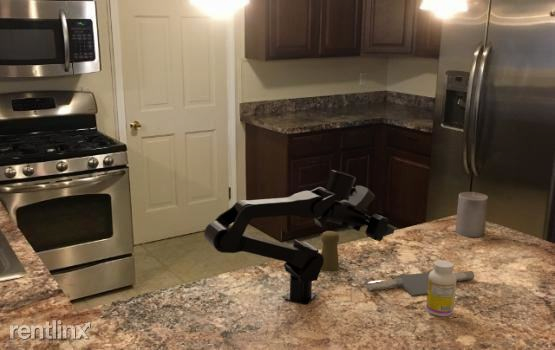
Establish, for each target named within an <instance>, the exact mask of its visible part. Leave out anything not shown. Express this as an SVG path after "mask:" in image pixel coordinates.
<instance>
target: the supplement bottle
mask: <svg viewBox="0 0 555 350" xmlns="http://www.w3.org/2000/svg"><path fill="white" fill-rule="evenodd" d="M454 265H455V264H454V263H453V262H452V261H449V260H444V259H437V260H435V261H434V262H433V269H432V270H431V271H430V272H428V273H429V279H428V291H427V295H426V302H425V303H426V304H425V305H426V306H425V307H426V311H427V312H428V313H430V314H431V315H434V316H436V317H449V316H451V315H452V314H453V313H454V309H455V299H456V298H455V297H456V290H457V289H456V287H457V281H456V280H457V278H456V275H455V274H454V273H455V272H454Z"/></svg>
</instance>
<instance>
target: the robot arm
mask: <svg viewBox="0 0 555 350" xmlns="http://www.w3.org/2000/svg"><path fill="white" fill-rule="evenodd" d="M355 182H356V177H355V176H353V175H350V174H347V173H346V172H342V171H339V170H334V169H332V170H331V172H330V173H329V179H328V181H327V184H326V186H325V188H324V187H321V186H319V187H316V188H314V189H312V190H303V191H299V192H297V193H294V194H292V195H289V196H287V197H277V198H264V199H251V200H250V199H249V200H246V199H240V200H237V201H236V202H235V203H234V204H233V205H232V206H231V207H230V208H228V209H227V210H225V211H224V212H222V213H221V214H219V215H218V216H217V217H216V219H215V220H213V221H212V222H210V223H209V224H207V226H206V227H205V229H204V232H203V234H204V238H205V241H206V242H207V243H208V244H210V245H211V246H212V247H213V248H214V249H215V250H216V251H217V252H220V253H222V254H237V253H241V252H244V253H248V254H253V255H256V256H260V257H263V258H264V257H265V258H268V259H269V258H270V259H273V260H278V261H281V262H285V263H284V264H283V267H284V271H285V272H286V273H288V274H289V292H288V293H287V295H286V296H285V297H284V300H285V301H289V302H294V303H296V304H297V303H299V304H302V305H309V304H311V301H312V300H313V299H314V298H315V297H316V296H317V292H312V291H313V290H312V289H313V282H315V281H318V279H319V275H320V273H321V271H322V270H321V268H322V266H323V262H324V258H323V255H322V254H321V252H319V251H320V250H319V249H318V248H316V247H315V246H313V245H311V244H310V243H309V242H307V241H299V240H297V239H294V240H293V244H292V243H291V244H286V243H285V244H284V243H281V242H277V241H273V240H270V239H266V238H264V237H262V238H261V237H258V236H256V235H251V234H247V233H245V231H246V229H247V228H248V226H249V223H250V222H251V221H252V220H255V219H263V218H264V219H265V218H274V217H275V218H276V217H285V216H297V217H301V218H305V219H314V224H315V225H316V226H319V227H321V228H325V225H326V224H327V222H330V223H333V224H337V225H339V226H341V227H344V228H351V229H353V230H355V231H357V232H359V231H360V230H361V228H362V227H363V226H364V225H366V230H365V234H366V236H367V237H369V238H370V239H372V240H374V241H377V242H382V241H383V239H384V237H387V236H390V235H393V234H394V233H395V229H394V228H393V227H391V226H390V225H389V222H390V219H389V218H387V217H384V216H382V215H381V214H380V215H379V214H377V213H374V214H373V215H371V216H369V215H368V212H369V210H368V209H367V208H368V206H369V205H370V203H371V202H372V201H373V200H374V199H375V197H376V195H375V194H374V193H373V192H372V191H371V190H370V188H367V187H365V186H363V185H355V187H354V184H355ZM338 200H339V201H338Z"/></svg>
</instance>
